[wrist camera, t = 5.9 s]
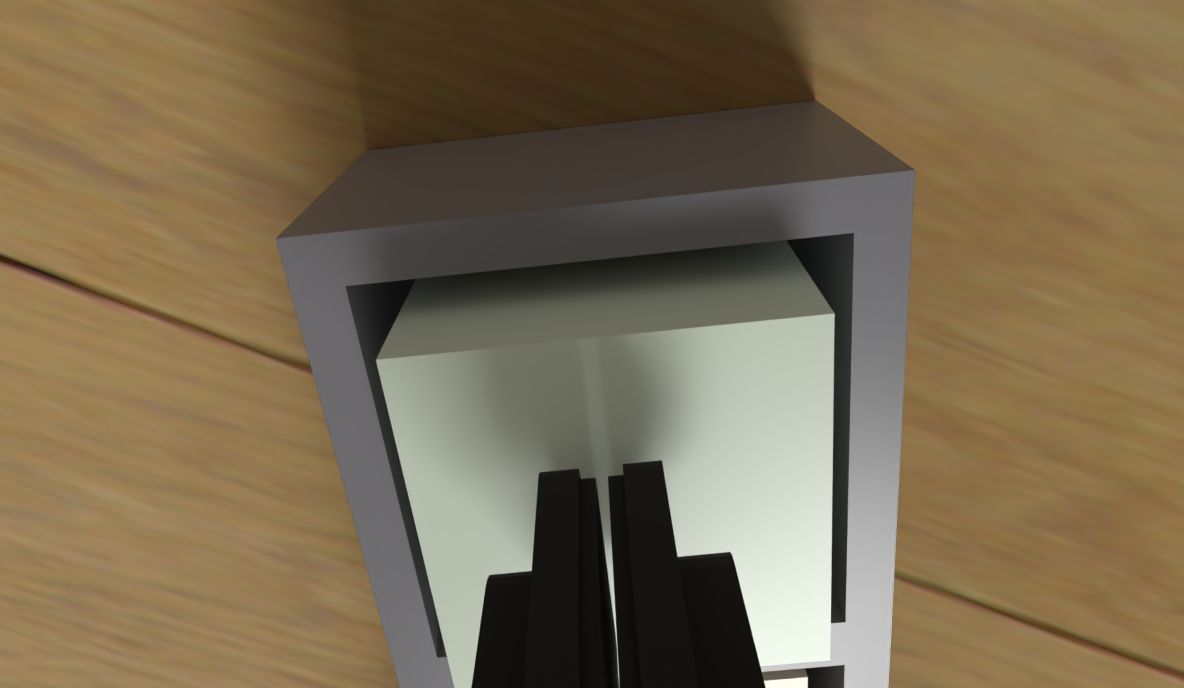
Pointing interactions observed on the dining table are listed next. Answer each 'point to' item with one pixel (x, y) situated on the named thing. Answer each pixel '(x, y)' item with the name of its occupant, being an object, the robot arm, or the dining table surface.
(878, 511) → the grey compartment tray
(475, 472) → the key sage
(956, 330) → the dining table surface
